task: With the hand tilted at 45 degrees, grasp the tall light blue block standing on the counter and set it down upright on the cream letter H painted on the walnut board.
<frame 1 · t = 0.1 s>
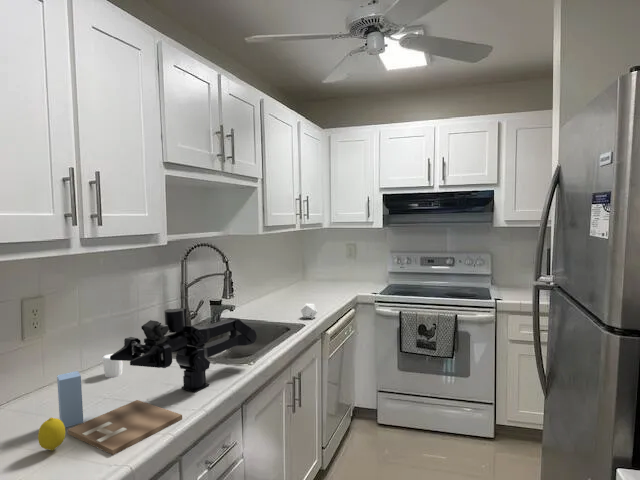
hand: (120, 360, 113), 17 cm above the countertop, tool horizontal, fingers open, 9 cm apart
light blue block: (71, 422, 114), on the countertop
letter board: (126, 426, 110), on the countertop
die: (309, 318, 228), on the countertop
shot glass: (113, 375, 149), on the countertop
lemon: (52, 451, 99), on the countertop
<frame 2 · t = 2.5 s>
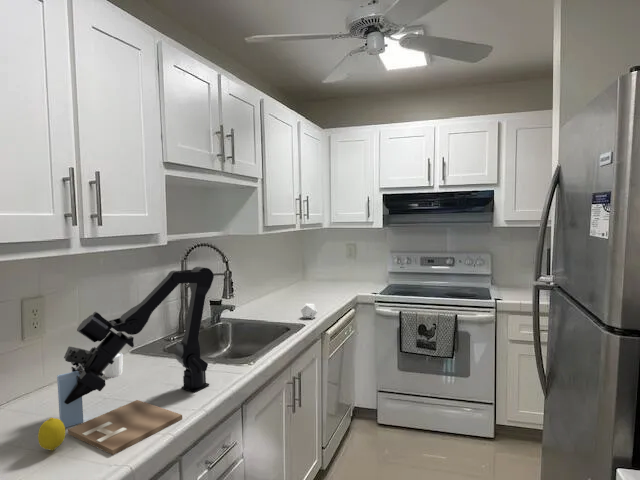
hand: (64, 399, 112), 7 cm above the countertop, tool tilted 45°, fingers closed on light blue block, 5 cm apart
light blue block: (71, 422, 114), on the countertop, touching gripper
everything else where it was.
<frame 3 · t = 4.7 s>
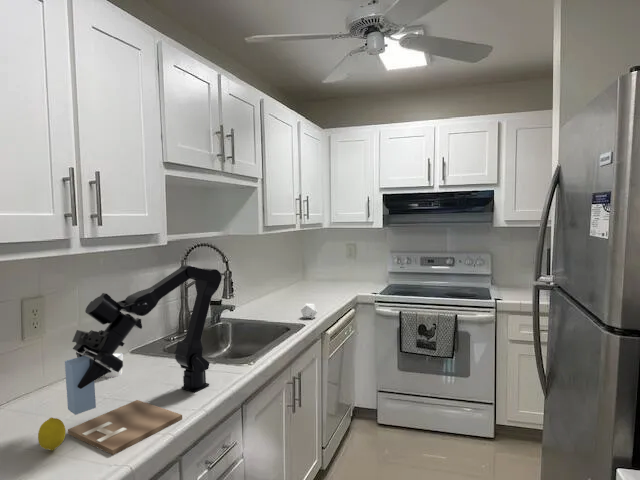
hand: (74, 385, 107), 12 cm above the countertop, tool tilted 45°, fingers closed on light blue block, 5 cm apart
light blue block: (81, 408, 109), point 6 cm above the countertop, touching gripper
everything else where it was.
when the fingers open (9 cm above the countertop, at t = 6.6 s): light blue block stays where it is, resting on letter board.
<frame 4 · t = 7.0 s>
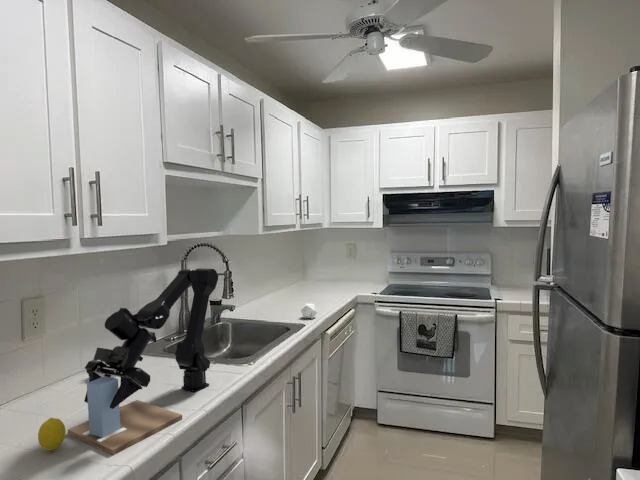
hand: (98, 405, 104), 9 cm above the countertop, tool tilted 45°, fingers open, 9 cm apart
light blue block: (105, 431, 105), point 1 cm above the countertop, touching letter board
everything else where it was.
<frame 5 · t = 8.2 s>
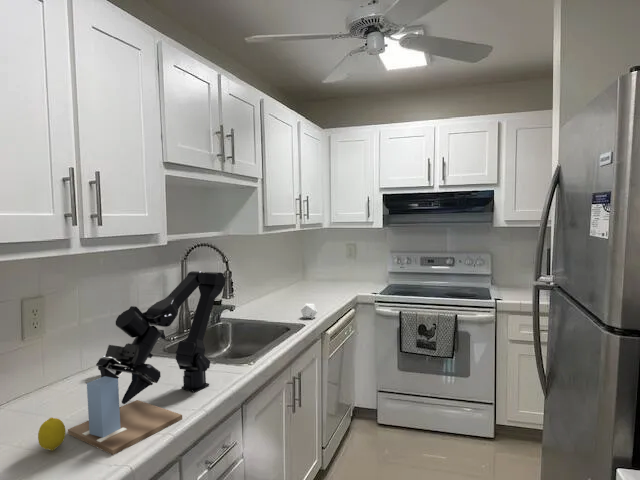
hand: (110, 400, 107), 8 cm above the countertop, tool tilted 45°, fingers open, 9 cm apart
nothing on the countertop moved.
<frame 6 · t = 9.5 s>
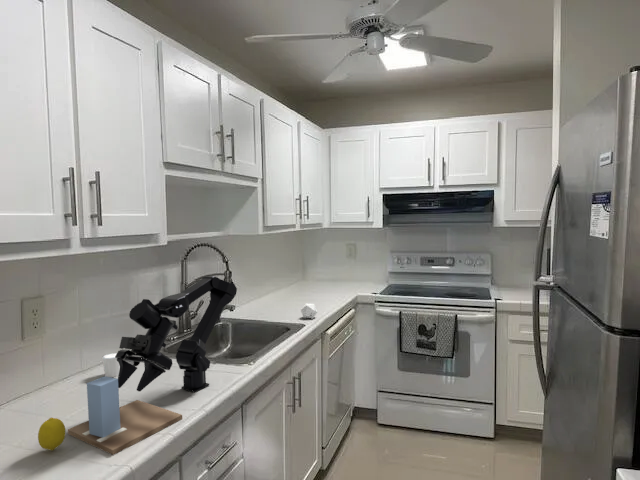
hand: (127, 389, 112), 9 cm above the countertop, tool tilted 40°, fingers open, 9 cm apart
nothing on the countertop moved.
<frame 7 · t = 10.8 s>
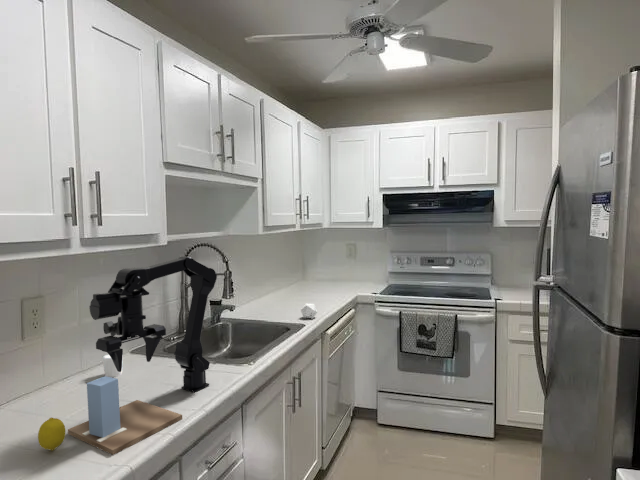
hand: (134, 366, 119), 13 cm above the countertop, tool pointing down, fingers open, 9 cm apart
nothing on the countertop moved.
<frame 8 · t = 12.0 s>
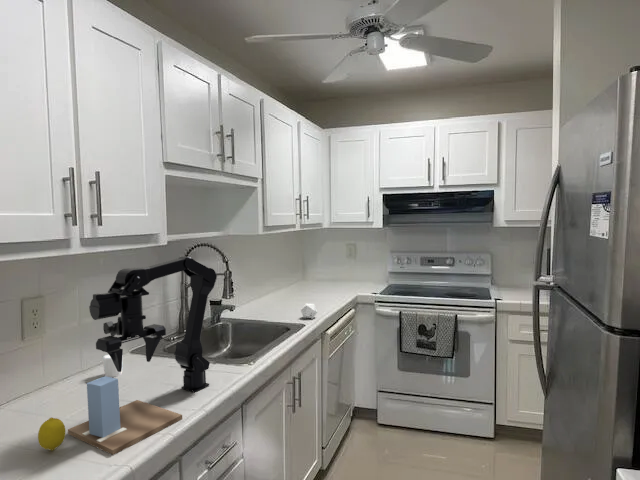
hand: (134, 366, 119), 13 cm above the countertop, tool pointing down, fingers open, 9 cm apart
nothing on the countertop moved.
at the end: light blue block 0.1 cm from the target spot on the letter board, point 1.4 cm above the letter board's base; light blue block tilted 0°; the gripper is holding nothing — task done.
